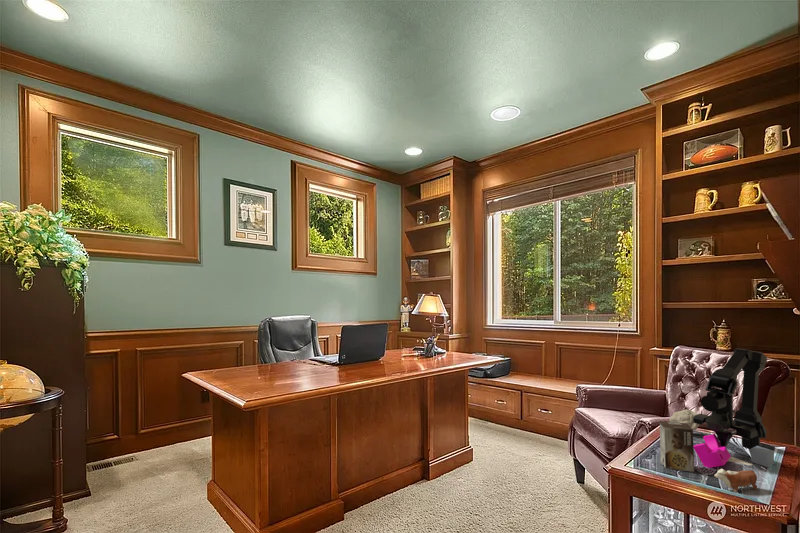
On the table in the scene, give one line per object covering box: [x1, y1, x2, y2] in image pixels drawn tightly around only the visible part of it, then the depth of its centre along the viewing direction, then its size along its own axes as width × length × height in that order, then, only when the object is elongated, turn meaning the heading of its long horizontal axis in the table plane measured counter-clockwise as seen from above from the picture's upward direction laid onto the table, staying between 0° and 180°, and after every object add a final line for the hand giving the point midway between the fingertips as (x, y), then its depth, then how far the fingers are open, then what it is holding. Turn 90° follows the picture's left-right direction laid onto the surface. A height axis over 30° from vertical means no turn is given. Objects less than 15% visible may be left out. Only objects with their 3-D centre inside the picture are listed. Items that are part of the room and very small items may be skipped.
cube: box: [750, 445, 775, 468], centre depth 152 cm, size 5×5×5 cm
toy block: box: [693, 433, 732, 469], centre depth 153 cm, size 15×6×8 cm, turn 130°
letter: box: [727, 456, 754, 466], centre depth 153 cm, size 12×10×1 cm
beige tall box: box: [659, 420, 695, 473], centre depth 148 cm, size 9×6×16 cm
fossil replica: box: [668, 408, 700, 432], centre depth 181 cm, size 12×8×10 cm
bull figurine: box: [714, 468, 758, 493], centre depth 132 cm, size 4×13×8 cm, turn 95°
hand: (724, 448), depth 156 cm, fingers closed
